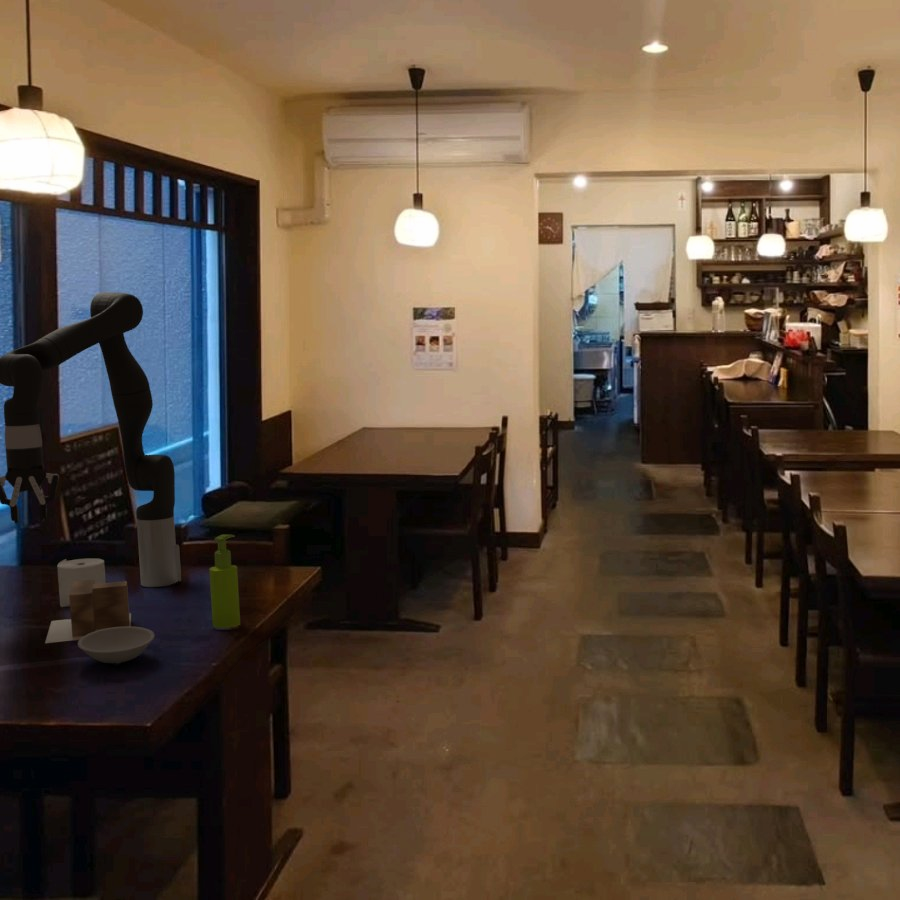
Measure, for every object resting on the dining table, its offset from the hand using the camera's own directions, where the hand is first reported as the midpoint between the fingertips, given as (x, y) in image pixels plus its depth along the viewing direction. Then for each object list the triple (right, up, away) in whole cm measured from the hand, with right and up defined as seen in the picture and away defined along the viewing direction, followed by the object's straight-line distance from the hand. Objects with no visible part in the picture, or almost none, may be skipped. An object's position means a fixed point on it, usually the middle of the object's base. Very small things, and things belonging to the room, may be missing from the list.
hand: (29, 521), depth 240 cm
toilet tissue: (+5, -21, +20) cm, 29 cm away
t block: (+17, -22, -5) cm, 29 cm away
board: (+21, -23, -3) cm, 32 cm away
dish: (+28, -26, -28) cm, 47 cm away
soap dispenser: (+45, -23, -4) cm, 50 cm away
